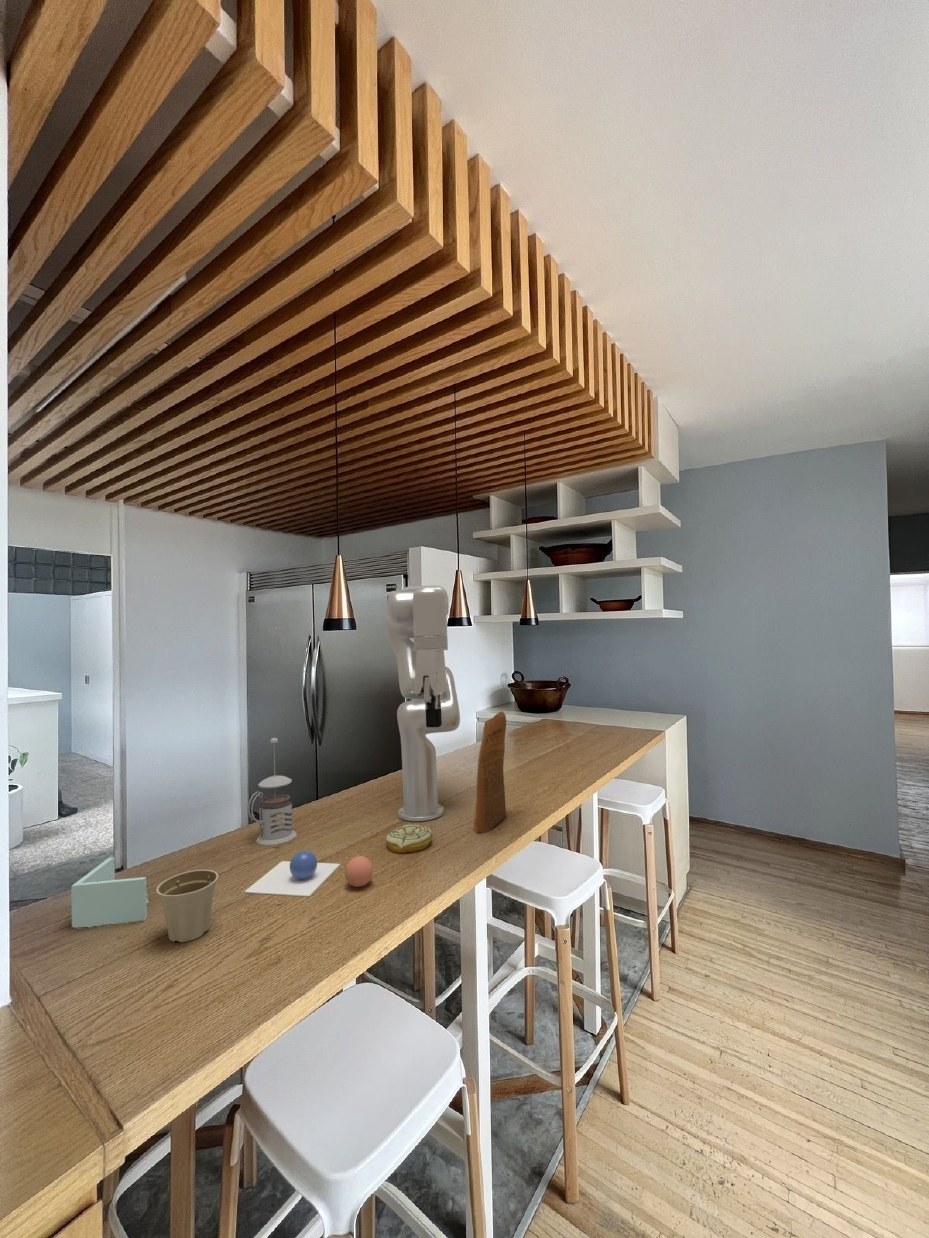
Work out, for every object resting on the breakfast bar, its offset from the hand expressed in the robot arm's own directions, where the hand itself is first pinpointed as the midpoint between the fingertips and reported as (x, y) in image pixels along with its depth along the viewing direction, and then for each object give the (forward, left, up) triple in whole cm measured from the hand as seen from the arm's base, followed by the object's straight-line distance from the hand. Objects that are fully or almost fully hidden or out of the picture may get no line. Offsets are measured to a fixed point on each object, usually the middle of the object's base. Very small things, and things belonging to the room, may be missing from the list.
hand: (434, 726), depth 115 cm
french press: (-8, -45, -29) cm, 54 cm away
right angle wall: (+27, -54, -29) cm, 67 cm away
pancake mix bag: (-23, +9, -29) cm, 38 cm away
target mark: (+12, -28, -29) cm, 42 cm away
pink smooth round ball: (+14, -13, -26) cm, 32 cm away
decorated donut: (-7, -9, -30) cm, 32 cm away
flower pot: (+33, -36, -29) cm, 57 cm away
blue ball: (+12, -26, -26) cm, 39 cm away
